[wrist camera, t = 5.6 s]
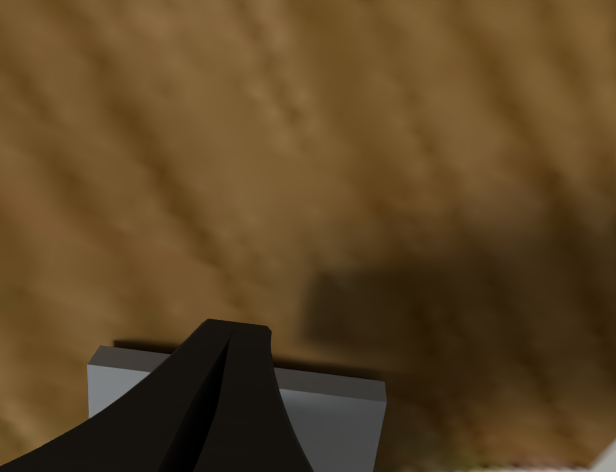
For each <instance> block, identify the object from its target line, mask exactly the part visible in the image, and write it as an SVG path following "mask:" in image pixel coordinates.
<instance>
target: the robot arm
mask: <svg viewBox="0 0 616 472" xmlns="http://www.w3.org/2000/svg"><path fill="white" fill-rule="evenodd" d="M271 334H272V331H271V330H270V329H269V328H268V327H267V326H263V325H255V324H247V323H239V322H238V323H237V322H231V321H223V320H215V319H207V320H206V321H204V322H203V323H202V324H201V325H200V326H199V327H198V328H197V329H196V330H195V331H194V332H193V333H192V334H191V335H190V336H189V337H188V338H187V339H186V340H185V341H184V342H183V343H182V344H181V345H180V346H179V347H178V348H177V349H176V350H175V351H174V352H173V353H172V354H171V355H170V356H169V357H168V358H166V359H165V360H164V361H163V362H162V363H161V364H160V365H159V366H158V367H156V368H155V369H154V370H153V371H152V372H151V373H150V374H149V375H147V376H146V377H145V378H144V379H142V380H141V381H140V382H139V383H137V384H136V385H135V386H134V387H132V388H131V389H130V390H129V391H127V392H126V393H125V394H124V395H122V396H121V397H120V398H118V399H117V400H116V401H114V402H113V403H112V404H110V405H109V406H107V407H106V408H104V409H103V410H102V411H100V412H99V413H97V414H96V415H94V416H93V417H91V418H90V419H88V420H87V421H85V422H83V423H82V424H80V425H79V426H77V427H75V428H73V429H72V430H70V431H68V432H66V433H64V434H63V435H61V436H59V437H57V438H55V439H54V440H52V441H50V442H48V443H46V444H44V445H43V446H41V447H39V448H37V449H35V450H33V451H31V452H29V453H27V454H25V455H23V456H21V457H19V458H17V459H15V460H13V461H11V462H8V463H6V464H4V465H2V466H0V472H314V470H313V469H312V467H311V465H310V463H309V461H308V459H307V457H306V455H305V453H304V451H303V449H302V447H301V445H300V443H299V441H298V439H297V436H296V434H295V432H294V430H293V427H292V425H291V422H290V420H289V417H288V414H287V411H286V409H285V406H284V403H283V400H282V397H281V394H280V390H279V386H278V383H277V379H276V375H275V371H274V366H273V360H272V354H271Z"/></svg>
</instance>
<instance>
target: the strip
mask: <svg viewBox="0 0 616 472" xmlns="http://www.w3.org/2000/svg"><path fill="white" fill-rule="evenodd" d="M170 355H171V354H163V353H155V352H147V351H140V350H132V349H124V348H116V347H108V346H100V347H99V348H98V350H97V351H96V353H95V354H94V356H93V357H92V358H91V360H90V361H89V363H88V364H87V368H88V398H89V419H90V418H91V417H93V416H94V415H96V414H97V413H99V412H100V411H102V410H103V409H104V408H106V407H107V406H109V405H110V404H112V403H113V402H114V401H116V400H117V399H118V398H120V397H121V396H122V395H124V394H125V393H126V392H127V391H129V390H130V389H131V388H132V387H134V386H135V385H136V384H137V383H139V382H140V381H141V380H142V379H144V378H145V377H146V376H147V375H149V374H150V373H151V372H152V371H153V370H154V369H155V368H156V367H158V366H159V365H160V364H161V363H162V362H163V361H164V360H165V359H166V358H168V357H169V356H170ZM274 371H275V375H276V379H277V383H278V386H279V390H280V394H281V397H282V400H283V403H284V406H285V409H286V411H287V414H288V417H289V420H290V422H291V425H292V427H293V430H294V432H295V434H296V436H297V439H298V441H299V443H300V445H301V447H302V449H303V451H304V453H305V455H306V457H307V459H308V461H309V463H310V465H311V467H312V469H313V470H314V472H373V469H374V464H375V459H376V454H377V449H378V444H379V439H380V434H381V429H382V424H383V419H384V414H385V409H386V404H387V399H386V390H385V381H377V380H369V379H361V378H353V377H345V376H337V375H329V374H322V373H314V372H306V371H298V370H290V369H282V368H274Z"/></svg>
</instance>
